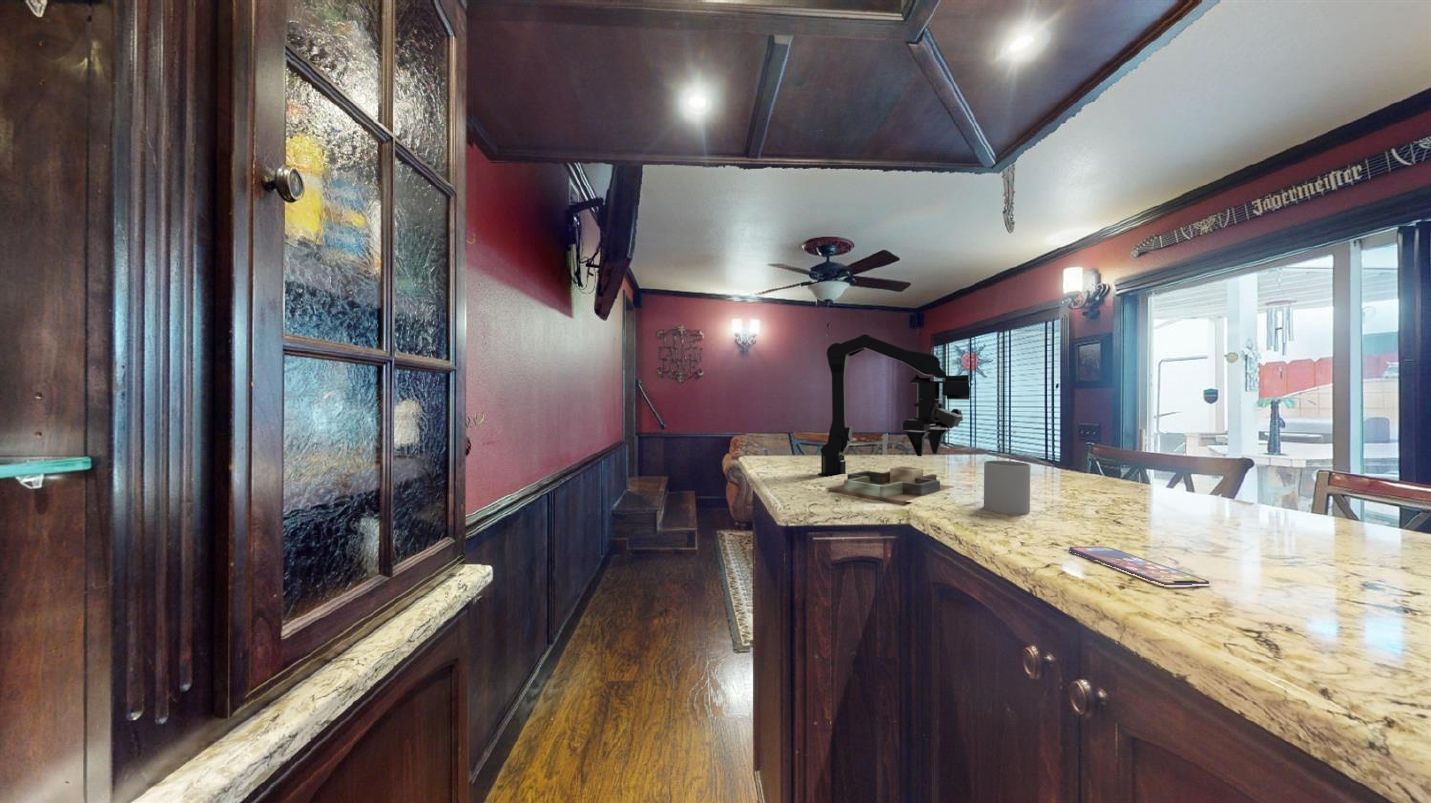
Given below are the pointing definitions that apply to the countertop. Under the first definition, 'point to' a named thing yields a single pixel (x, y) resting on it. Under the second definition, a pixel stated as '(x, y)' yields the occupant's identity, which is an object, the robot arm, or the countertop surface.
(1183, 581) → the smartphone
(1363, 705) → the countertop surface
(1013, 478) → the cup
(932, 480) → the trap lane
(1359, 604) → the countertop surface
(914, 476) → the maple block
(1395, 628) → the countertop surface
